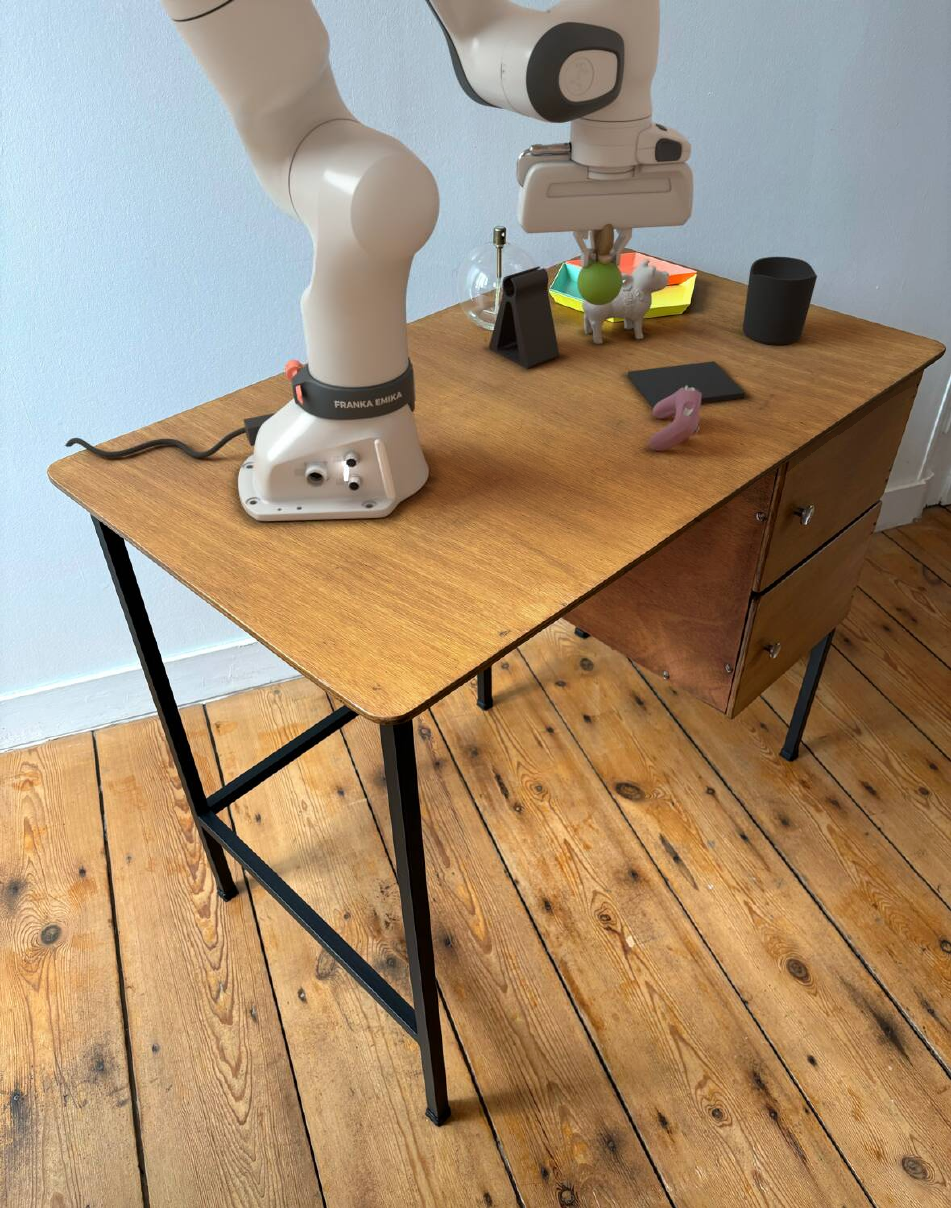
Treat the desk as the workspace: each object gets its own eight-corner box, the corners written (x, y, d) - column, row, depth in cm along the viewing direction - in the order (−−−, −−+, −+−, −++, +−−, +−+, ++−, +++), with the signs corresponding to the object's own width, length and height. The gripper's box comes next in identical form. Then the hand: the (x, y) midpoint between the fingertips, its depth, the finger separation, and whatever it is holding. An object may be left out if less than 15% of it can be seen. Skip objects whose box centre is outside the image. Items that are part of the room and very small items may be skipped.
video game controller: (676, 466, 118) (709, 423, 114) (644, 448, 118) (676, 404, 113) (679, 427, 126) (710, 385, 121) (649, 410, 125) (679, 368, 121)
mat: (653, 409, 127) (654, 404, 126) (627, 376, 134) (627, 371, 134) (744, 397, 129) (745, 392, 128) (713, 366, 136) (714, 361, 136)
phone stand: (488, 348, 142) (488, 267, 134) (520, 337, 145) (521, 258, 137) (527, 369, 136) (529, 286, 129) (559, 357, 139) (563, 276, 131)
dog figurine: (668, 335, 145) (677, 265, 138) (589, 346, 142) (594, 274, 135) (653, 321, 149) (661, 252, 142) (576, 331, 146) (580, 262, 139)
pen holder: (815, 333, 145) (830, 267, 138) (783, 352, 139) (797, 285, 133) (760, 316, 150) (772, 251, 143) (727, 334, 144) (738, 268, 138)
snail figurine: (606, 290, 121) (614, 190, 114) (627, 308, 116) (637, 206, 109) (566, 295, 120) (571, 195, 112) (586, 314, 115) (593, 211, 108)
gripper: (521, 152, 103) (519, 279, 112) (705, 144, 105) (688, 269, 114) (512, 137, 108) (510, 260, 117) (688, 130, 110) (673, 251, 118)
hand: (600, 265), depth 115 cm, fingers closed on snail figurine
